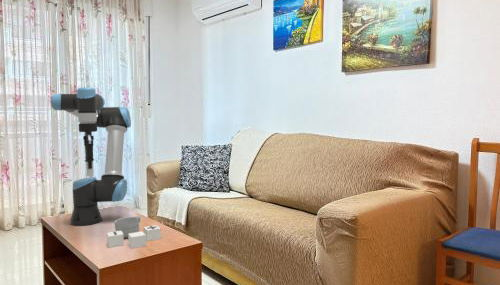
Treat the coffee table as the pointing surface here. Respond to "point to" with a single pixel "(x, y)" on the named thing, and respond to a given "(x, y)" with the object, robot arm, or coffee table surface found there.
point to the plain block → (137, 239)
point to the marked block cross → (152, 232)
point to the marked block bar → (115, 239)
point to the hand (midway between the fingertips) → (90, 175)
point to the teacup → (127, 225)
